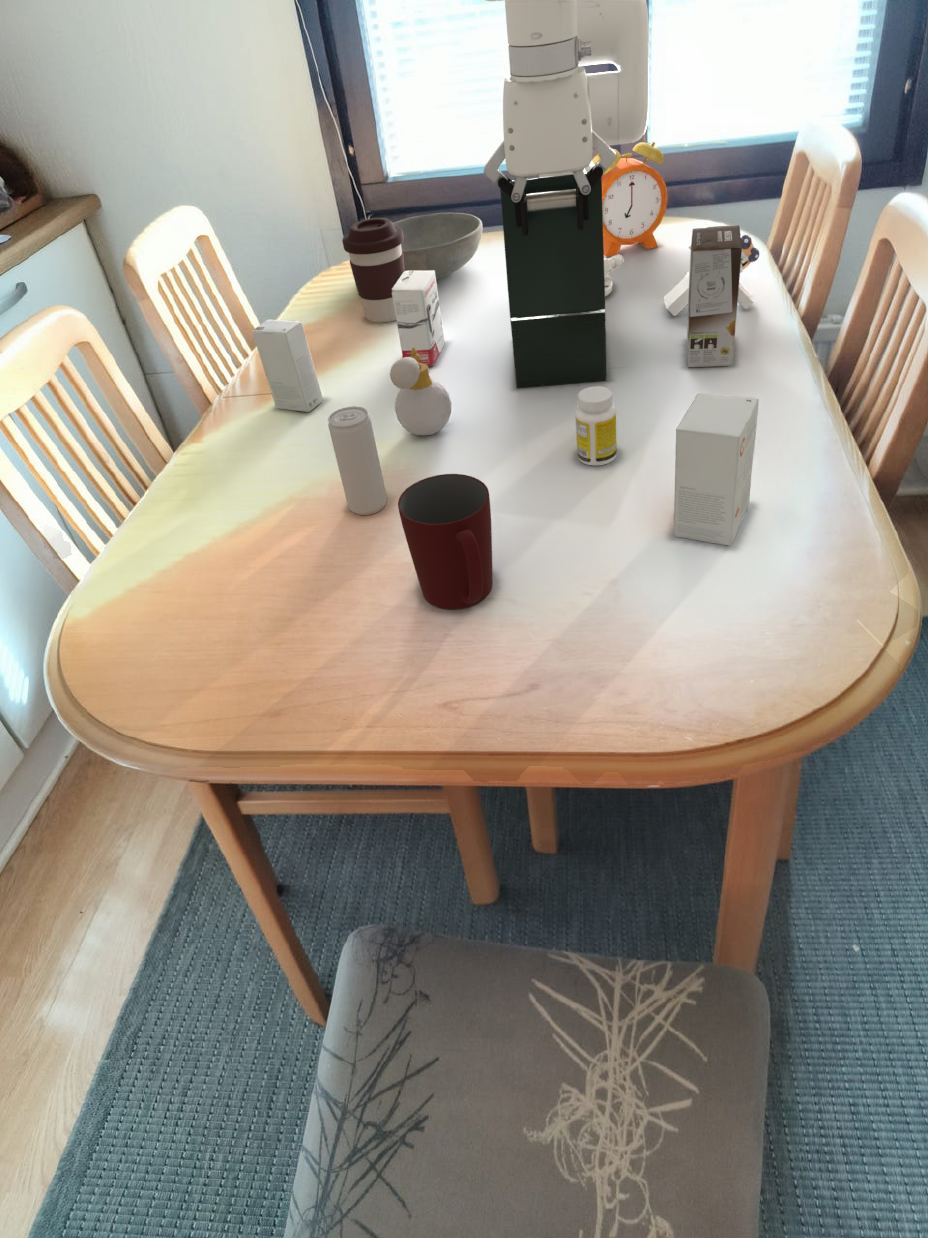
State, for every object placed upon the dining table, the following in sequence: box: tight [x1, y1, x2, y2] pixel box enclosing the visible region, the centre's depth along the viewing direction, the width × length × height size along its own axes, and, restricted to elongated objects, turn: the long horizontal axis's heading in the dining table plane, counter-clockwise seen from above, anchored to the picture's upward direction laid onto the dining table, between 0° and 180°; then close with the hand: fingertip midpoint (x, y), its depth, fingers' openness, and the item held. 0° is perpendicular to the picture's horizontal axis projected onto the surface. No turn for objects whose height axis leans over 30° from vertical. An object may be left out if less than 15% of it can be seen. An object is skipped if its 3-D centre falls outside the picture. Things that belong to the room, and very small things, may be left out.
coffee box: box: [686, 224, 742, 368], centre depth 121 cm, size 9×6×16 cm
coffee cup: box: [341, 217, 405, 324], centre depth 147 cm, size 10×10×15 cm
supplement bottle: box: [575, 385, 618, 467], centre depth 106 cm, size 5×5×8 cm
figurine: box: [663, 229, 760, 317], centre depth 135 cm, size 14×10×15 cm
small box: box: [672, 391, 760, 547], centre depth 92 cm, size 8×6×13 cm
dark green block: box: [499, 172, 606, 319], centre depth 112 cm, size 16×13×5 cm
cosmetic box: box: [251, 318, 324, 413], centre depth 126 cm, size 6×4×12 cm
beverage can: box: [327, 405, 388, 516], centre depth 103 cm, size 5×5×12 cm
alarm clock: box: [592, 133, 669, 258], centre depth 156 cm, size 13×6×20 cm, turn 103°
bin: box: [510, 308, 607, 389], centre depth 127 cm, size 16×13×10 cm
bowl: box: [392, 212, 484, 280], centre depth 162 cm, size 21×21×8 cm
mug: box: [397, 473, 494, 610], centre depth 88 cm, size 12×9×11 cm
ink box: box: [392, 270, 446, 367], centre depth 134 cm, size 9×5×12 cm, turn 168°
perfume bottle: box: [389, 347, 452, 436], centre depth 114 cm, size 8×10×12 cm
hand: (552, 228), depth 109 cm, fingers closed on dark green block, 6 cm apart
